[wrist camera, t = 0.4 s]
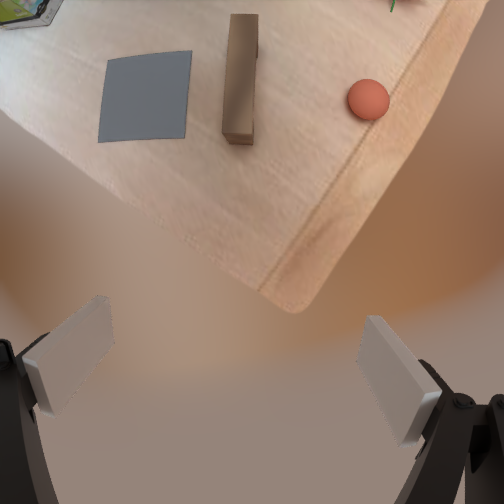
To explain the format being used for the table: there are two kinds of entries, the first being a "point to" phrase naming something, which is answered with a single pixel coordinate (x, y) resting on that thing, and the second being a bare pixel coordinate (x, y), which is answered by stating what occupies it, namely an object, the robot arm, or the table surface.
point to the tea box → (27, 13)
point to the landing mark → (145, 97)
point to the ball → (368, 99)
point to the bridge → (240, 79)
